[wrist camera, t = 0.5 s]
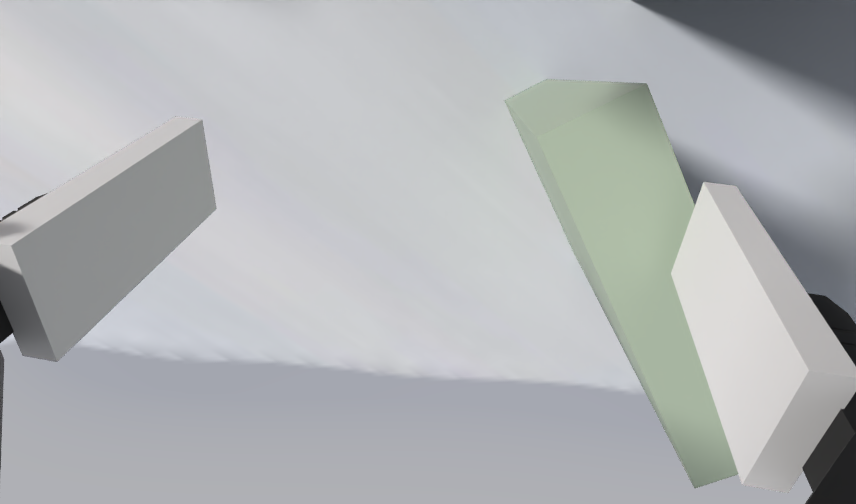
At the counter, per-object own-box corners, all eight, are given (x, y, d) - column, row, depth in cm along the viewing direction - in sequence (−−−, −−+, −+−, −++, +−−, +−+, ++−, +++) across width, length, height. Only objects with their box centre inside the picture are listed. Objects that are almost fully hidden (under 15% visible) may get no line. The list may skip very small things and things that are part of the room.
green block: (575, 256, 40) (694, 488, 18) (504, 100, 38) (536, 136, 15) (615, 238, 40) (793, 456, 17) (546, 79, 37) (646, 83, 14)
